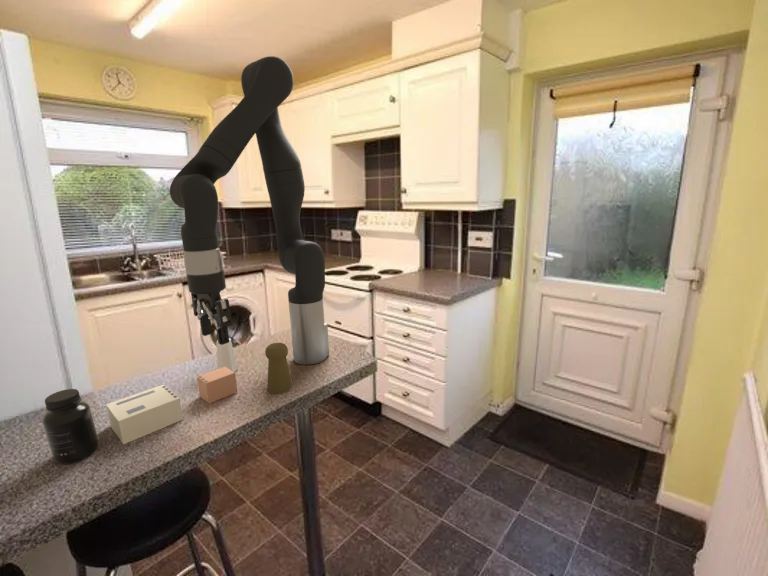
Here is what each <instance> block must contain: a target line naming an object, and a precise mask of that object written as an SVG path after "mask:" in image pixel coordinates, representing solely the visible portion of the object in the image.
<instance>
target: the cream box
mask: <svg viewBox="0 0 768 576" xmlns="http://www.w3.org/2000/svg"><path fill="white" fill-rule="evenodd" d="M105 407H106V408H105V409H106V410H107V411H106V412H107V416H108V421H109V426H110V427H111V429H112V430H113V432H114V433H115V435H116V436H117V437H118V438H119V440H120V441H121V443H122V445H125V444H127V443H130V442H133V441H136V440H138V439H140V438H142V437H144V436H146V435H149V434H151V433H154V432H157V431H159V430H161V429H164V428H167V427H168V426H171V425H174V424H176V423H178V422H180V421H182V420H184V416H183V409H182V403H181V398H180V397H179V396H178V395H177V394H176V393H174V391H172V390H171V389H170V388H169V387H168V386H167V385H165V384H161V385H158V386H155V387H153V388H150V389H146V390H142V391H140V392H138V393H135V394H133V395H130V396H126V397H123V398H121V399H117V400H115V401H112V402H109V403H107V404H106V403H105Z"/></svg>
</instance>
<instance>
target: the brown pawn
mask: <svg viewBox="0 0 768 576" xmlns="http://www.w3.org/2000/svg"><path fill="white" fill-rule="evenodd" d="M264 353H265V354H264V355H265V357H266V358H267V360H268V361H267V362H268V363H267V389H266V390H267V391H268V392H269V393H271V394H282V393H285V392H287V391H289V390H291V389H292V388H293V387H294V385H293V381H292V376H291V372H290V371H291V370H290V368H289V364H288V359H287V356H288V354H289V349H288V346H287V345H286V343H282V342H273V343H271V344H268V345H267V346H266V348H265V352H264Z"/></svg>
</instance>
